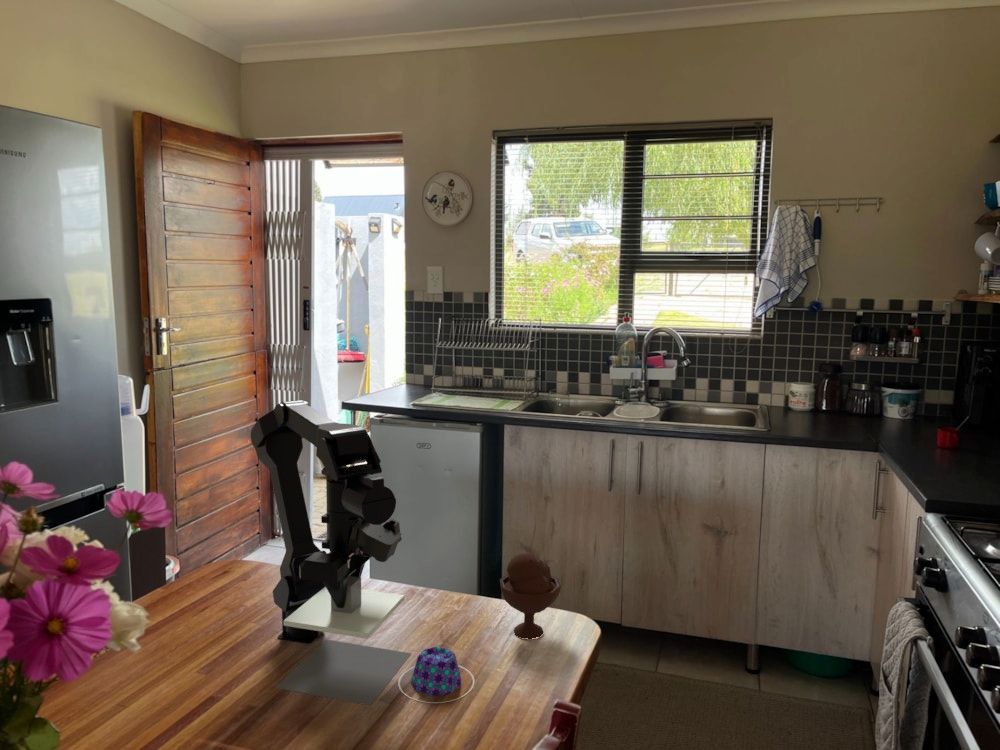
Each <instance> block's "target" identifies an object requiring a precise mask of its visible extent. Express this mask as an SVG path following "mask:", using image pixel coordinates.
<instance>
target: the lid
mask: <svg viewBox="0 0 1000 750" xmlns="http://www.w3.org/2000/svg"><path fill="white" fill-rule="evenodd" d="M404 601H405V595H404V594H398V593H391V592H383V591H377V590H368V589H362V576H361V577H354V576H349V577H348V581H347V590H346V599H345V605H344V607H343V608H338V607H337V606H336V605H335V603H334V601H333V599H332V597H331V596H330V594H329V592H328V590H327V588H326V587H324V588H323V589H322V590H320V591H319V592H318V593H317V594H315V595H314V596H313V597H312V598H311V599H309V600H308V601H307V602H306V603H304V604H303V605H302V606H301V607H299V608H298V609H297V610H296V611H295V612H293V613H292V614H291V615H290V616H288V617H287V618H286V619H285V620H283V624H284V626H290V627H296V628H303V629H309V630H315V631H322V632H323V633H330V634H335V635H342V636H349V637H354V638H361V639H366V640H368V639H369V638H370V637H371V636H372V635H373V634H374V633H375V632H376V631H377V630H378V629H379V628H380V626H381V625H382V624H383V623H384V622H385V621H386V620H387V619H388V618H389V617H390V615H392V614H393V613H394V611H396V609H397V608H399V606H400V605H401V604H402V603H403V602H404Z"/></svg>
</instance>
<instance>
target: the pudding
mask: <svg viewBox="0 0 1000 750" xmlns="http://www.w3.org/2000/svg"><path fill="white" fill-rule="evenodd" d="M460 668H461V669H463V670H464V671H466V672H467V673H468V674H469V675H470V677H471V679H472V684H471V687H470V689H469V690H468V691H467V692H466V693H464V694H463V695H461V696H460V697H457V698H455V699H451V700H446V701H437V702H436V701H435V702H433V701H431V702H429V701H422V700H419V699H416V698H413V697H411V696H409V695H408V694H406V693H405V692H404V691H403V689H402V687H401V680H402V679H403V676H405V674H406V673H408V672H409V671H410V670H413V672H412V677H411V680H410V684H411V685H412V686H414V688H413V689H414V691H415V692H417V693H420V694H421V693H422V694H423V693H424V694H425V695H427V696H430V697H436V696H439V695H443V696H446V695H450V694H451V693H454V690H457V689H460V688H461V686H462V682H461V681H462V676H461V673H460ZM475 680H476V679H475V676H474V675H473V673H472V672H471V671H470V670H468V669H467V668H466V667H464V666H462V665H460V664H458V660H457V656H456V653H455V652H454V651H453V650H450V649H449V648H447V647H444V646H442V647H439V646H431V647H430V648H424V649H423V650H422V651H421V652H420V654H418V656H417V658H416V660H415V665H413V666H411V667H409V668H407V669H406V670H405V671H404V672H402V674H401V675H400V676H399V678H398V681H397V685H398V688H399V691H400V692H401V693H402V694H403V695H404V696H406V697H407V698H409V699H411V700H414V701H416V702H421V703H425V704H427V703H428V704H442V703H449V702H454V701H456V700H459V699H461V698H463V697H465V696H466V695H468V694H469V693H470V692H471V691H472V689H474V687H475V683H476V681H475Z"/></svg>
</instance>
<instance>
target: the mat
mask: <svg viewBox="0 0 1000 750" xmlns="http://www.w3.org/2000/svg"><path fill="white" fill-rule="evenodd" d="M411 655H412V653H411V652H405V651H399V650H392V649H386V648H382V647H376V646H375V647H374V646H370V645H369V646H367V645H363V644H356V643H350V642H349V643H348V642H344V641H337V640H331V639H324V640H323V641H322V642H321V643H320V644H319V645H318V646H317V647H316V648H315V649H314V650H313V651H312V652H311V653H310V654H309V655H307V656H306V657H305V658H304V659H302V661H301V662H300V663H299V664H298V665H296V667H295V668H294V669H293V670H292V671H290V673H289V674H287V676H286V677H284V678H283V679H282V681H281V682H279V683H278V684H277V685H276V686H275V687H274V689H279V690H284V691H289V692H295V693H301V694H306V695H311V696H317V697H321V698H329V699H333V700H338V701H343V702H344V701H345V702H349V703H356V704H361V705H366V706H372V705H373V703H374V702H375V701H376V700H377V699H378V697H379V696H380V695H381V693H382V692H383V691H384V690H385V688H386V687H387V686H388V685H389V683H390V682H391V681H392V680H393V679H394V677H395V676H396V674H397V673H398V672H399V671H400V669H401V668H402V667H403V665H404V664H405V662H407V660H408V659H409V658H410V656H411Z"/></svg>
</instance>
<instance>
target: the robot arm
mask: <svg viewBox="0 0 1000 750" xmlns="http://www.w3.org/2000/svg"><path fill="white" fill-rule="evenodd" d="M303 439H304V440H306V441H307V442H309V443H310V444H312V445H313V446H314V447H315V448H316V449H315V452H316V453H315V455H316V457H317V459H319V461H320V462H321V463H322V466H323V467H322V469H321V471H320V473H321V475H323V476H325V477H326V478H325V481H326V485H325V487H326V488H325V489H326V493H325V494H326V513H324V514H323V515H321V519H320V520H321V521H320V522H321V524H326V538H325V539H324V540H323V541H321V549H325V550H321V549H320V548H319V547H317V545H316V544H315V542H314V537H313V533H312V528H311V524H310V518H309V513H308V510H307V504H306V501H305V495H304V490H303V486H302V481H301V476H300V471H299V466H298V462H299V459H300V456H301V454H302V451H303V448H304V444H303ZM250 441H251V444H252V446H253V447H254V450H255V452H256V456H257V459H258V460H259V461H260V462H261V463H262V464H263V465H264V467H266V469H268V470H269V473H270V477H271V482H272V488H273V492H274V496H275V497H274V498H275V502H276V507H277V513H278V516H279V521H280V522H279V523H280V527H281V532H282V537H283V542H284V547H285V554H284V556H283V557H282V562H281V564H280V566H279V574H280V579H279V581H278V582H277V584H276V585H275V587H274V588H273V590H272V596H273V602H274V605H276V606H277V607H278V608H279V609H281V622H282V623H281V624H282V627H281V628H282V629H281V631H282V632H281V633H280V634H278V635H277V637H276V638H277V640H283V641H289V642H295V643H301V644H307V645H310V644H312V643H313V642H314V641H315V640H316V639H317V638H319V637H320V636H321V635H322V634H323V633H324V632H322V631H315V630H309V629H303V628H296V627H290V626H284V624H283V620H285V619H286V618H287V617H288V616H290V615H291V614H292V613H293V612H295V611H296V610H297V609H298V608H299V607H301V606H302V605H303V604H304V603H306V602H307V601H308V600H309V599H311V598H312V597H313V596H314V595H315V594H317V593H318V592H319V591H320V590H322V589H323V588H324V587H326V588H327V590H328V592H329V594H330V596H331V597H332V599H333V601H334V603H335V605H336V606H337V607H338V608H343V607H344V605H345V599H346V590H347V581H348V577H349V576H354V577H361V578H362V574H363V570H364V568H365V565H366V563H367V562H368V561H369V560H370V559H371V558H372V557H373V558H374V559H375V560H376V562H380V563H385V562H387V561H388V560H389V558H390V557H392V556H394V555H395V552H396V549H397V546H398V545H399V543H400V542H401V541H402V540H403V539H402V537H401V535H402V533H401V530H400V529H401V528H400V521H398V520H396V519H394V518H391V517H392V515H394V512H395V509H396V506H397V505H396V504H397V499H396V497H395V493H394V492H393V491H392V490H391V489H390V487H387V486H385V479H384V477H382V476H379V475H378V476H376V475H377V474H381V473H382V472H383V470H382V467H381V466H382V465H381V459H380V457H379V455H378V452H377V451H376V448H375V446H374V444H373V441H372V439H371V436H370V434H369V432H368V431H367V430H366V429H365V428H364V427H363V426H360V425H357V424H353V423H339V422H336V421H335V420H333V419H331V418H329V417H328V416H326V415H325V414H323V413H321V412H320V411H318V410H317V409H315V408H313V407H311V406H310V404H309V402H307V401H306V400H303V399H298V400H287V401H281V402H280V403H277V404H276V406H275V407H274V408H273V410H271V411H269V412H267V413H266V414H264V415H263V416H261V417H260V418H258V419H257V420H256V422H255V424H254V425H253V427H252V428H251V430H250ZM362 463H363V464H362ZM382 524H383V525H382ZM326 550H329V552H328V553H327V551H326Z"/></svg>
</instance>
